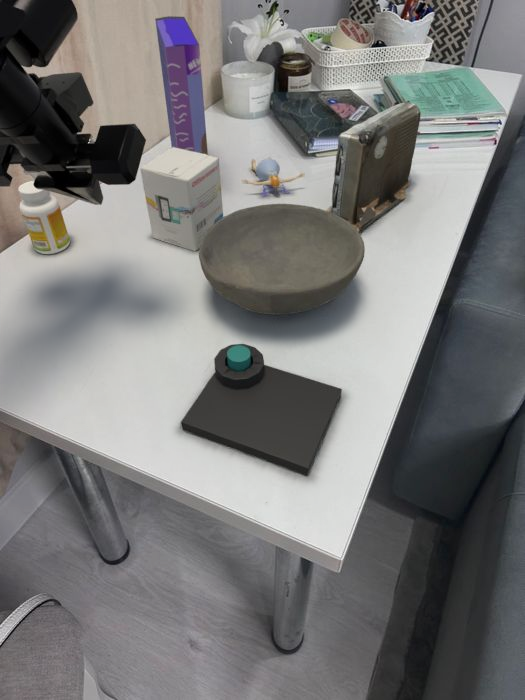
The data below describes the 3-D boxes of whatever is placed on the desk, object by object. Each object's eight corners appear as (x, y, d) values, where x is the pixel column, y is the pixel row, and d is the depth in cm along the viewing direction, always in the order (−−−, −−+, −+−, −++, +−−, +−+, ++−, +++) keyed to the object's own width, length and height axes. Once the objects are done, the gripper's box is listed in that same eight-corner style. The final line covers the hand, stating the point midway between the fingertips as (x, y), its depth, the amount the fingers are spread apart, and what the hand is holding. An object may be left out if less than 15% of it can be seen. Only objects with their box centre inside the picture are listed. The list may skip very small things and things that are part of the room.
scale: (180, 429, 54) (176, 411, 52) (229, 356, 62) (227, 338, 60) (307, 476, 50) (309, 458, 48) (342, 392, 58) (345, 374, 56)
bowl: (286, 368, 60) (288, 317, 55) (171, 294, 71) (163, 244, 65) (385, 287, 71) (396, 238, 66) (274, 233, 82) (275, 186, 76)
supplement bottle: (66, 232, 82) (49, 174, 75) (73, 249, 78) (55, 190, 72) (31, 241, 80) (10, 182, 73) (37, 258, 77) (15, 198, 70)
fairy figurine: (290, 146, 97) (309, 167, 88) (290, 172, 100) (308, 194, 90) (230, 152, 95) (243, 174, 86) (232, 178, 98) (245, 202, 89)
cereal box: (211, 198, 90) (199, 43, 73) (184, 201, 89) (165, 45, 72) (197, 156, 102) (184, 15, 85) (173, 159, 101) (155, 16, 84)
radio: (389, 171, 97) (405, 86, 87) (430, 185, 93) (451, 98, 82) (312, 218, 85) (319, 126, 75) (355, 237, 81) (368, 142, 70)
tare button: (223, 367, 57) (222, 357, 56) (233, 352, 59) (233, 342, 58) (244, 374, 56) (244, 364, 55) (254, 358, 58) (254, 349, 57)
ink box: (182, 213, 86) (173, 144, 78) (225, 226, 83) (221, 155, 75) (150, 238, 81) (138, 166, 73) (196, 252, 78) (188, 179, 70)
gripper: (120, 31, 49) (182, 145, 63) (-37, 48, 54) (53, 150, 68) (91, 126, 46) (163, 223, 60) (-74, 135, 51) (29, 222, 65)
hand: (99, 201), depth 63 cm, fingers closed
